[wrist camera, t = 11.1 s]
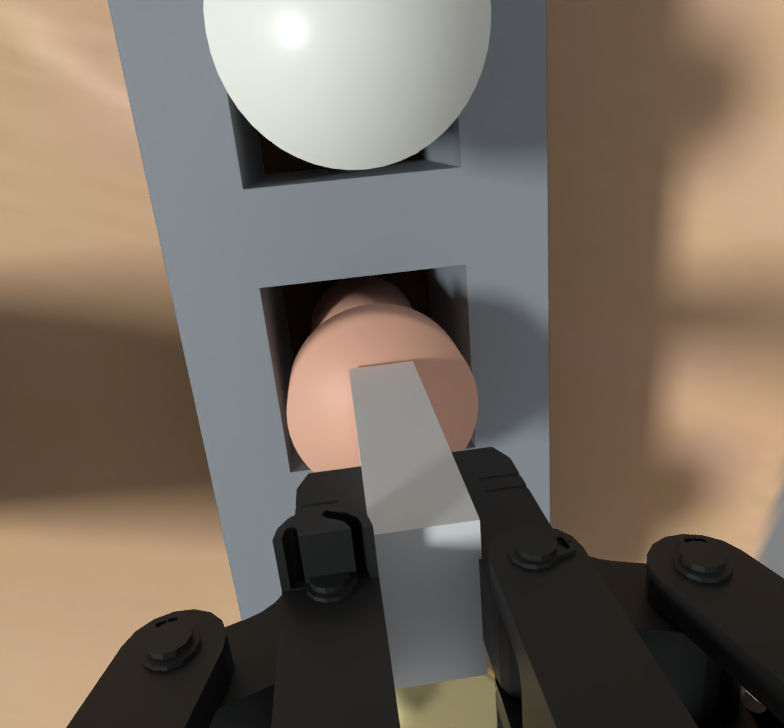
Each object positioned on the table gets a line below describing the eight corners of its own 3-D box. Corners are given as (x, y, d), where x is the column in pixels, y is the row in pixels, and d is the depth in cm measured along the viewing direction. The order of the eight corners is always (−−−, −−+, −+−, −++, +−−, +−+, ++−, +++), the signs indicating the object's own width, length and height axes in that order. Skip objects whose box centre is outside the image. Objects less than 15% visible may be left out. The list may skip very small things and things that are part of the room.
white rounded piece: (236, -25, 16) (175, -143, 9) (415, -39, 16) (485, -164, 10) (265, 165, 18) (231, 183, 11) (428, 148, 18) (496, 156, 11)
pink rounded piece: (287, 269, 21) (272, 332, 14) (424, 253, 21) (473, 308, 15) (306, 396, 23) (301, 508, 16) (433, 380, 23) (482, 483, 16)
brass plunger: (318, 515, 22) (319, 691, 15) (452, 497, 22) (513, 660, 15) (335, 623, 23) (342, 827, 16) (459, 604, 24) (517, 796, 17)
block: (150, -81, 20) (66, -191, 13) (471, -104, 20) (544, -220, 14) (279, 603, 28) (268, 742, 22) (498, 570, 29) (550, 696, 23)
